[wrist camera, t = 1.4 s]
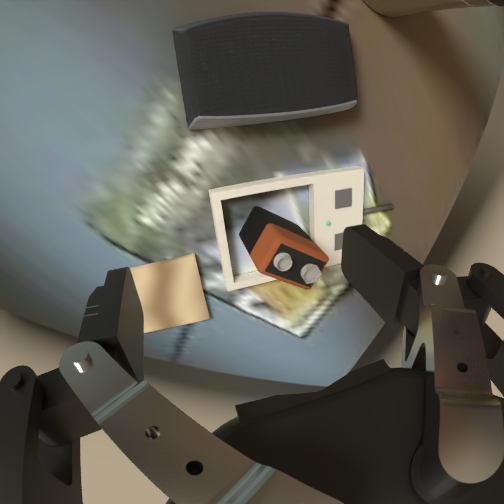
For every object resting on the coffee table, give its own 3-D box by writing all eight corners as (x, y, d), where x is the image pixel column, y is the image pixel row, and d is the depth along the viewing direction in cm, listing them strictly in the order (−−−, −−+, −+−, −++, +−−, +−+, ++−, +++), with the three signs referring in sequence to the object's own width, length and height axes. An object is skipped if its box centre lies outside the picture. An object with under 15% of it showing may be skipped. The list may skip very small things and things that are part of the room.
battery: (282, 253, 41) (313, 297, 32) (236, 235, 38) (259, 278, 29) (299, 224, 39) (336, 262, 31) (253, 203, 36) (283, 239, 28)
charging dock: (394, 162, 39) (402, 165, 37) (388, 244, 45) (395, 249, 43) (208, 189, 34) (210, 194, 33) (225, 285, 41) (227, 293, 39)
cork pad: (194, 253, 37) (194, 255, 37) (209, 316, 42) (209, 318, 42) (116, 271, 36) (116, 273, 35) (140, 330, 41) (140, 333, 40)
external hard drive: (347, 114, 34) (366, 117, 31) (188, 135, 31) (191, 140, 28) (337, 17, 28) (355, 10, 24) (171, 24, 25) (171, 13, 21)
